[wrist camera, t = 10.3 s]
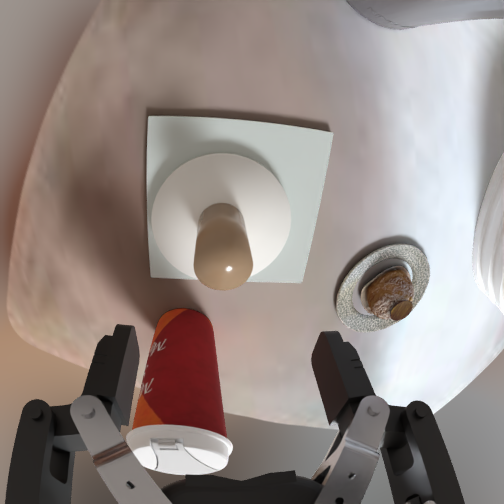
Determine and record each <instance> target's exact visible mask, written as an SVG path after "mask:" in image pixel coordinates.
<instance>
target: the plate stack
mask: <svg viewBox="0 0 504 504" xmlns="http://www.w3.org/2000/svg"><path fill="white" fill-rule="evenodd" d="M472 267H473V274H474V278H475V281H476V283H477V285H478V287H479V288H480V289H481V290H482V291H483V292H484V293H485V294H486V295H487V296H488V297H489V299H490V300H491V301H492V302H493V303H494V304H495V305H496V306H497V307H498V308H499V310H500V311H501V312H502V313H503V314H504V152H503V154H502V156H501V158H500V160H499V162H498V164H497V166H496V168H495V170H494V172H493V175H492V177H491V180H490V182H489V185H488V187H487V190H486V193H485V196H484V199H483V202H482V205H481V209H480V213H479V216H478V220H477V225H476V230H475V235H474V242H473V251H472Z"/></svg>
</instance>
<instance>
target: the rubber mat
mask: <svg viewBox="0 0 504 504" xmlns="http://www.w3.org/2000/svg"><path fill="white" fill-rule="evenodd" d="M333 134H334V133H332V132H329V131H323V130H318V129H312V128H305V127H299V126H292V125H285V124H277V123H269V122H261V121H251V120H241V119H229V118H214V117H195V116H148V135H147V221H148V243H149V259H150V273H151V277H153V278H172V279H193V280H198V279H195V278H192V277H190V276H188V275H186V274H184V273H183V272H181V271H179V270H178V269H177V268H175V267H174V266H173V265H172V264H171V263H170V262H169V261H168V260H167V259H166V258H165V257H164V255H163V254H162V253H161V251H160V249H159V248H158V246H157V244H156V241H155V239H154V235H153V231H152V223H151V217H152V209H153V204H154V201H155V198H156V195H157V193H158V192H159V190H160V188H161V186H162V184H163V183H164V181H165V180H166V179H167V177H168V176H169V175H170V174H171V173H172V172H173V171H174V170H175V169H176V168H178V167H179V166H180V165H181V164H183V163H185V162H186V161H188V160H190V159H192V158H195V157H197V156H200V155H204V154H208V153H215V152H229V153H236V154H240V155H243V156H247V157H249V158H251V159H254V160H255V161H257V162H259V163H260V164H262V165H263V166H265V167H266V168H267V169H268V170H270V172H271V173H272V174H273V175H274V176H275V177H276V178H277V180H278V181H279V183H280V184H281V186H282V187H283V189H284V191H285V193H286V195H287V198H288V201H289V204H290V210H291V226H290V231H289V235H288V238H287V241H286V243H285V245H284V247H283V249H282V250H281V252H280V253H279V255H278V256H277V257H276V258H275V259H274V261H273V262H272V263H271V264H269V265H268V266H267V267H266V268H264V269H263V270H261V271H260V272H258V273H257V274H255V275H253V276H250V277H249V278H248V280H247V281H246V282H280V283H302V280H303V276H304V272H305V268H306V264H307V260H308V256H309V251H310V247H311V243H312V238H313V234H314V229H315V225H316V220H317V216H318V211H319V206H320V201H321V197H322V192H323V187H324V182H325V177H326V172H327V166H328V161H329V156H330V150H331V145H332V139H333Z"/></svg>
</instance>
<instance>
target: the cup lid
mask: <svg viewBox="0 0 504 504" xmlns="http://www.w3.org/2000/svg"><path fill="white" fill-rule="evenodd" d="M151 223H152V231H153V235H154V239H155V241H156V244H157V246H158V248H159V249H160V251H161V253H162V254H163V255H164V257H165V258H166V259H167V260H168V261H169V262H170V263H171V264H172V265H173V266H174V267H175V268H177V269H178V270H179V271H181V272H183V273H184V274H186V275H188V276H190V277H192V278H195V279H198V280H199V281H200V282H201V283H203V284H204V285H205V286H207V287H209V288H212V289H215V290H231V289H234V288H237V287H239V286H241V285H242V284H243V283H245V282H246V281H247V280H248V278H249V277H250V276H253V275H255V274H257V273H258V272H260V271H261V270H263V269H264V268H266V267H267V266H268V265H269V264H271V263H272V262H273V261H274V259H275V258H276V257H277V256H278V255H279V253H280V252H281V250H282V249H283V247H284V245H285V243H286V241H287V238H288V235H289V231H290V226H291V210H290V204H289V201H288V198H287V195H286V193H285V191H284V189H283V187H282V186H281V184H280V183H279V181H278V180H277V178H276V177H275V176H274V175H273V174H272V173H271V172H270V170H268V169H267V168H266V167H265V166H263V165H262V164H260V163H259V162H257V161H255V160H254V159H251V158H249V157H247V156H243V155H240V154H236V153H229V152H215V153H208V154H204V155H200V156H197V157H195V158H192V159H190V160H188V161H186V162H185V163H183V164H181V165H180V166H179V167H178V168H176V169H175V170H174V171H173V172H172V173H171V174H170V175H169V176H168V177H167V179H166V180H165V181H164V183H163V184H162V186H161V188H160V190H159V192H158V193H157V195H156V198H155V201H154V204H153V209H152V217H151Z"/></svg>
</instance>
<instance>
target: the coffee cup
mask: <svg viewBox="0 0 504 504" xmlns="http://www.w3.org/2000/svg"><path fill="white" fill-rule="evenodd" d="M126 440H127V442H128V445H129V446H130V449H131V450H132V452H133V453H134V455H135V456H136V458H137V459H138V460H139V462H140V463H141V465H142V466H144V467H147V468H149V469H152V470H154V469H155V471H160V472H164V473H169V474H178V475H185V474H190V475H201V474H207V473H212V472H216V471H219V470H221V469H223V468H224V467H225V466H226V465H227V462H228V456H229V455H230V454H231V452H232V449H233V445H232V443H231V442H230V441H229V440H228V439H227V434H226V427H225V419H224V412H223V405H222V397H221V389H220V381H219V372H218V364H217V355H216V347H215V339H214V332H213V327H212V324H211V322H210V320H209V319H208V318H207V317H206V316H205V315H203V314H202V313H200V312H198V311H195V310H192V309H186V308H179V309H173V310H170V311H168V312H166V313H165V314H163V315H162V316H161V318H160V319H159V321H158V324H157V327H156V330H155V334H154V337H153V341H152V344H151V348H150V352H149V356H148V360H147V364H146V368H145V372H144V376H143V381H142V385H141V390H140V394H139V399H138V403H137V408H136V413H135V418H134V423H133V428H132V430H131V431H130V432H129V433H128V434H127V436H126Z"/></svg>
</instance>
